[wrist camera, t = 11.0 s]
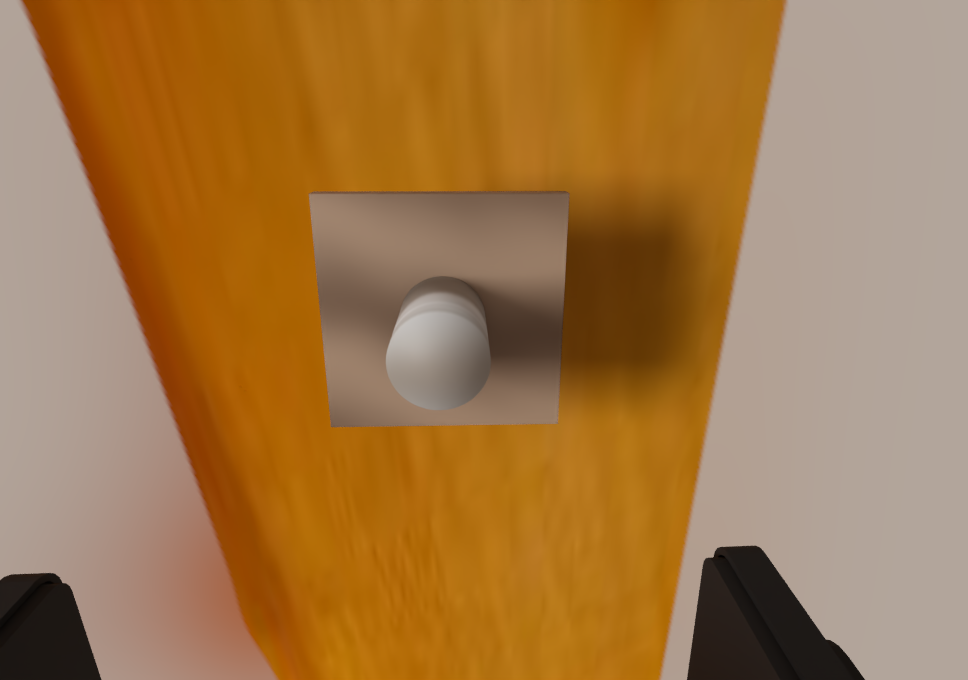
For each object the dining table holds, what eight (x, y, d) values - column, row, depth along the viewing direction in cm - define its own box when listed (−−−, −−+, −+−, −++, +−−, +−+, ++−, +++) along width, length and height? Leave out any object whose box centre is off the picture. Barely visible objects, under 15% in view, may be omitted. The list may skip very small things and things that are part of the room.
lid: (313, 191, 23) (268, 211, 18) (565, 191, 24) (597, 210, 18) (334, 418, 27) (302, 493, 21) (554, 415, 27) (578, 488, 22)
